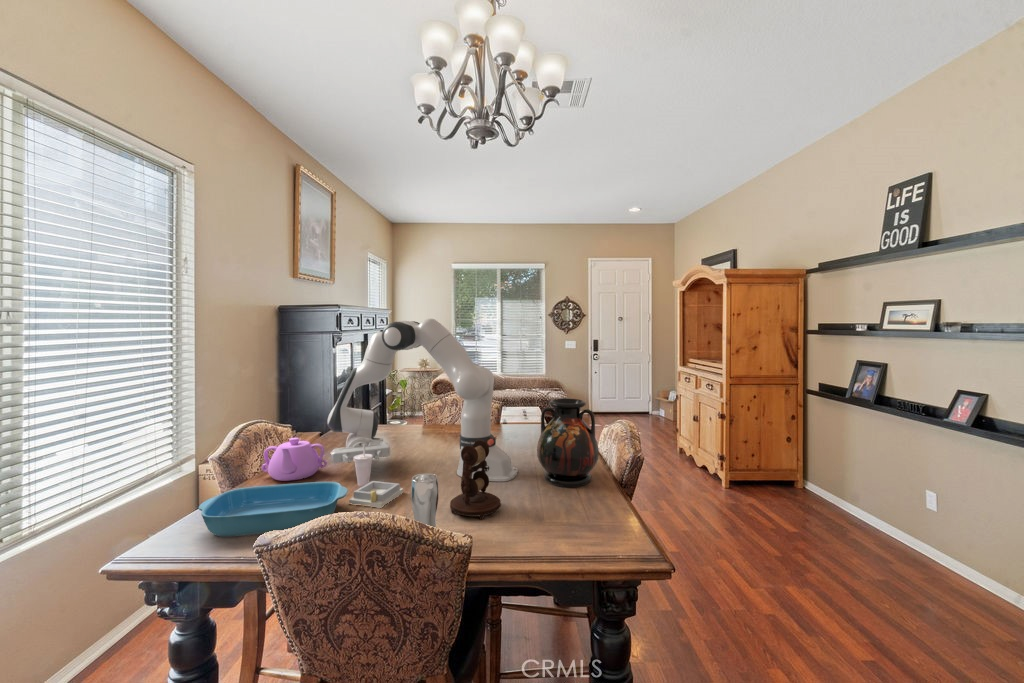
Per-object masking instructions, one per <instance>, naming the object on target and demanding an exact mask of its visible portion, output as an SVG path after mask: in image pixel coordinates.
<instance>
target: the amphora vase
mask: <svg viewBox="0 0 1024 683" xmlns="http://www.w3.org/2000/svg"><path fill="white" fill-rule="evenodd" d="M548 405H550V406H551V407H552V408H551V407H550V406H549V407H545V408H542V409H543V410H542V412H541V414H540V436H539V439H538V441H537V447H536V456H537V460H538V462H539V463H540V465H541V467H542V469H544V470H545V472H544V475H543V478H544V479H545V481H546V482H548V483H549V484H552V485H555V486H557V487H563V488H564V487H565V488H574V487H575V488H576V487H582V486H584V485H585V486H586V485H587V484H589V482H591V480H592V475H591V471H592V470H593V469H594V468H595V467H596V465H597V463H598V460H599V453H600V452H599V446H598V442H597V439H596V419H595V418H596V417H595V414H594V412H593V411H592V410H591V409H587V408H586V409H583V410H582V411H581V409H582V408H583V407H586V406H587V403H586V401H585V400H582V399H577V398H555V399H551V400H549V402H548ZM553 408H554V409H553ZM547 412H550V413H551V414H552V419H551V420H550V421H549V422H548V423H547V424H546V421H545V417H546V413H547ZM584 414H589V416H590V421H591V427H589V425H588V424H587V423H586V422H585V420H584V419H583V417H584V416H583V415H584Z"/></svg>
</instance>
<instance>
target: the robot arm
mask: <svg viewBox="0 0 1024 683" xmlns="http://www.w3.org/2000/svg"><path fill="white" fill-rule="evenodd" d="M421 346H422V347H423V348H424V349H425V350H426V352H428V354H429V355H430V356H431V358H432V359H433V360H434V361H436V363H437V364H438V365H439V366H440V367H441V369H442V370H443V371H444V372H445V374H446V376H447V377H448V379H449V381H450V382H451V384H452V385H453V388H454V391H455V393H456V395H457V396H458V397H459V398H461V399H462V400H463V403H462V409H461V412H460V435H459V450H460V451H459V452H460V454H459V461H458V465H457V466H458V467H457V470H456V474H457V475H458V476H459V477H461V478H462V472H463V460H462V458H461V451H462V449H463V447H465V446H467V445H470V446H473V444H474V443H475V442H476V441H478V440H482V441H484V442H486V443H487V445H488V447H489V454H488V456H487V457H486V459H485V461H486V462H487V466H486V468H485V472H486V474H487V476H488V478H489V482H508V481H511V480H513V479H514V478H515V477H516V476H517V475H518V468H517V467H516V466H512V465H513V464H512V459H511V457H510V455H509V454H508V453H507V452H506V451H504V450H503V449H502V448H501V447H499V445H497V435H493V434H492V431H491V430H492V428H491V427H492V426H491V425H492V424H491V423H492V419H491V418H492V416H491V415H492V414H491V413H492V405H493V404H492V403H493V397H494V385H495V378H494V377H495V376H494V373H493V372H492V371H491V370H490V369H489V368H487V367H484V366H476V364H475V363H474V362H473V360H472V359H471V357H470V355H469V353H468V351H467V349H466V348H465V347H464V346H463V344H461V342H460V341H459V340H458V339H457V338H456V337H455V336H454V335H453V334H452V333H451V332H450V331H449V330H448V329H447V328H446V327H445V326H444V325H443V324H442V323H441V322H439V321H438V320H436V319H434V318H426V319H424V320H422V321H421V322H417V321H413V320H411V321H409V320H402V321H401V320H400V321H399V320H398V321H393V322H392V321H391V322H390V323H389V324H387V325H385V327H384V328H383V329H382V331H377V332H374V333H373V334H372V336H371V337H370V339H369V341H368V344H367V347H366V349H365V352H364V356H363V360H362V361H361V363H360V364H359V365H358V366H357V367H355V368H352V370H351V371H350V372H349V373H348V375H347V378H346V380H345V382H344V384H343V386H342V388H341V391H340V392H339V395H338V397H337V400H336V401H335V404H334V405H333V407H332V409H331V410H330V411H329V412H330V413H329V414H328V415H327V416H328V417H327V422H326V423H327V427H328V428H329V429H330V431H332V432H333V433H346V434H347V433H348V435H347V437H346V442H345V447H335V448H333V449H332V451H330V453H329V456H330V458H331V463H333V464H337V463H346V464H347V463H351V462H354V461H353V459H354V458H353V457H354V456H356V455H360V454H363V444H365V454H371V455H373V460H379V459H380V458H388V457H390V456H391V446H390V444H389V443H388V442H387V441H384V439H383V438H381V437H376V435H377V431H378V428H379V419H378V418H379V417H378V415H377V413H376V412H375V411H374V410H370V409H364V408H363V409H362V408H355V407H348V404H349V402H350V399H351V397H352V395H353V393H354V391H355V389H357V388H359V387H362V386H364V385H369V384H375V383H379V382H382V381H383V380H385V379H387V377H388V376H389V375H390V373H391V371H392V368H393V365H394V361H395V356H396V354H397V353H398V351H408V350H413V349H417V348H419V347H421ZM478 464H479V463H478ZM478 464H476V465H478ZM476 465H475V466H476ZM481 470H482V469H481V468H479V469H478V470H477V471H481ZM477 471H475V472H477ZM475 472H473V473H472V479H473V475H474V473H475Z"/></svg>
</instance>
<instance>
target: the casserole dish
mask: <svg viewBox="0 0 1024 683" xmlns="http://www.w3.org/2000/svg"><path fill="white" fill-rule="evenodd" d="M348 489H349V488H347V487H345V486H342V484H341V483H339V482H337V481H315V482H314V481H313V482H299V483H297V482H296V483H286V484H285V483H283V484H272V485H271V484H270V485H258V486H257V485H256V486H250V487H249V486H247V487H241V488H236V489H232V490H228V491H224V492H222V493H220V494H218V495H215V496H213V497H211V498H209V499H206V500H204V501H203V502H202V503H201V504H199V506H198V510H199V511H201V513H200V514H201V517H202V519H203V523H204V524H205V526H206V528H207V530H208V532H210V533H211V534H212V535H215V536H217V537H223V538H224V537H225V538H226V537H228V538H229V537H242V536H243V537H244V536H252V535H254V534H255V535H263V534H262V533H265V532H269V531H273V530H284V529H288V528H292V527H295V526H297V525H300V524H302V523H305V522H308V521H310V520H313V519H315V518H318V517H321V516H324V515H328V514H332V513H333V514H334V513H335V510H336V508H337V505H338V501H339V500H342V499H344V498H345V497H346V496H347V494H348V491H349V490H348ZM265 534H266V533H265Z"/></svg>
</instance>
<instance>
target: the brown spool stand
mask: <svg viewBox="0 0 1024 683" xmlns="http://www.w3.org/2000/svg"><path fill="white" fill-rule="evenodd" d="M460 451H461V450H460ZM488 454H489V447H488V445H487V443H486V442H484V441H482V440H478V441H476V442H475V443H474V444H473V446H470V445H467V446H465V447H463V449H462V451H461V458H462V460H463V472H462V477H461V479H460V480H461V482H460V489H461V494H458V495H456V496H455V497H453V498H452V499H451V500H450V502H449V509H450V511H451V514H453V515H454V514H457V515H460V516H465V517H466V516H467V517H479V518H480V520H481V521H483V519H484V518H485V516H487V515H490V514H493V513H495V512H497V511H499V509H501V505H502V504H501V501H502V500H501V499H500V498H499V497H498V496H497V495H495V494H493V493H490V492H487V491H486V490H487V488H488V487H489V485H490V481H489V478H488V476H487V474H486V472H485V468H486V466H487V462H486V461H485V459H486V457H487V456H488ZM478 463H479V464H478ZM476 464H478V465H476ZM475 465H476V466H475ZM479 468H481V469H482V470H481V471H477V470H478V469H479ZM475 471H477V472H475ZM473 472H475V473H474V475H473V479H472V473H473Z"/></svg>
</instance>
